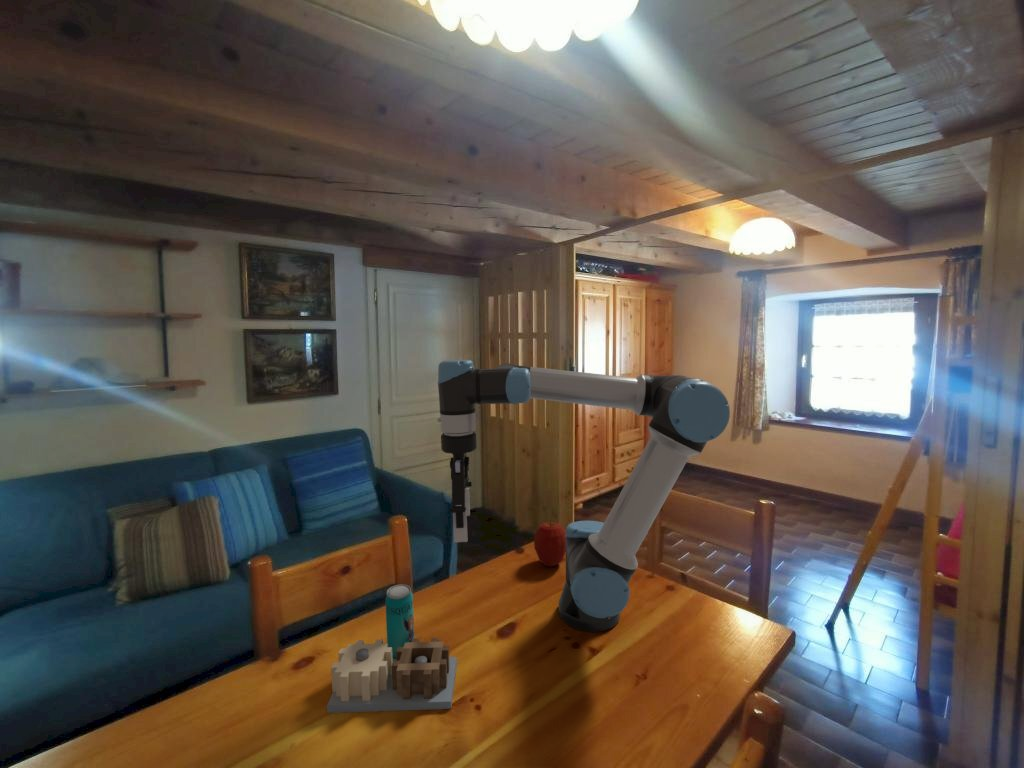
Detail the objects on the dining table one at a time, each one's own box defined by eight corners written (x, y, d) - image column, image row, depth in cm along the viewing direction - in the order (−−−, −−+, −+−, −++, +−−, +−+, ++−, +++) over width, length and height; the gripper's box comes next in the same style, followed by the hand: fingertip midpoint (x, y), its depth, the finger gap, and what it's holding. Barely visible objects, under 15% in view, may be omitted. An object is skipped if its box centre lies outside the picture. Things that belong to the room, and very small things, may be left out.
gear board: (457, 663, 98) (456, 630, 98) (451, 708, 86) (450, 671, 86) (347, 666, 98) (345, 633, 97) (326, 712, 86) (324, 675, 85)
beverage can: (408, 666, 98) (405, 599, 96) (383, 662, 99) (380, 596, 97) (418, 648, 103) (416, 584, 102) (395, 645, 104) (392, 582, 103)
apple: (571, 570, 136) (571, 525, 135) (538, 573, 135) (538, 528, 133) (562, 554, 147) (562, 512, 145) (531, 557, 145) (530, 514, 143)
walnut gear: (450, 659, 97) (450, 637, 97) (444, 698, 87) (444, 673, 86) (401, 661, 97) (400, 638, 97) (389, 699, 87) (388, 675, 86)
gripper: (445, 422, 111) (449, 507, 113) (434, 446, 86) (439, 555, 88) (477, 420, 111) (480, 505, 113) (474, 445, 86) (478, 553, 89)
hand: (462, 527), depth 101 cm, fingers open, 13 cm apart
